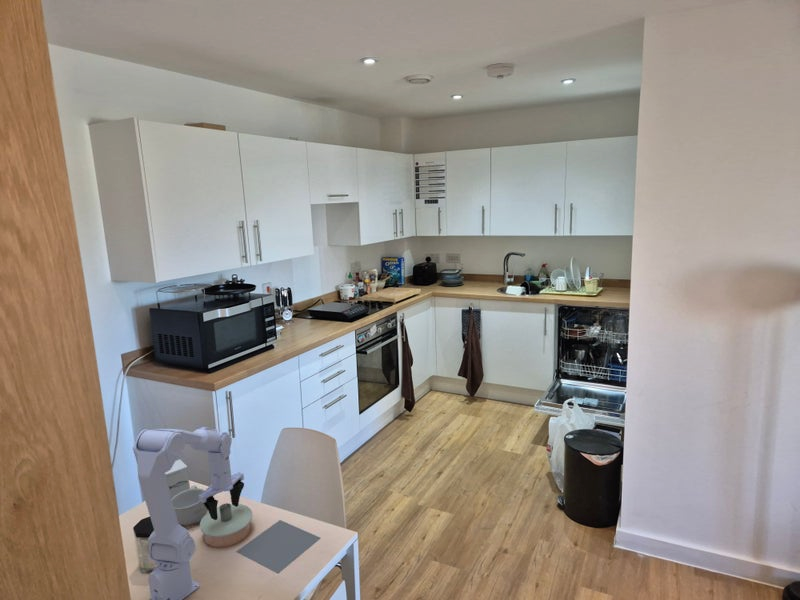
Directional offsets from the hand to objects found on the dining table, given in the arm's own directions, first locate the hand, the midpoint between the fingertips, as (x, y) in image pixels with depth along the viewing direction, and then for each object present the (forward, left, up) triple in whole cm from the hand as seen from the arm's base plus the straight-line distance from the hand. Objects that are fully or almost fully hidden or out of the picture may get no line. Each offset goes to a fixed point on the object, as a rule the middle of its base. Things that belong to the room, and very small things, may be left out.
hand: (225, 511), depth 154 cm
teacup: (0, +17, -8) cm, 19 cm away
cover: (0, 0, -3) cm, 3 cm away
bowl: (0, 0, -7) cm, 7 cm away
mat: (+4, -18, -7) cm, 20 cm away
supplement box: (+3, +30, -8) cm, 31 cm away
